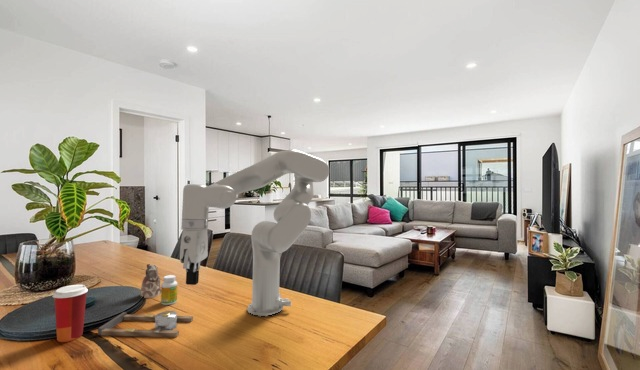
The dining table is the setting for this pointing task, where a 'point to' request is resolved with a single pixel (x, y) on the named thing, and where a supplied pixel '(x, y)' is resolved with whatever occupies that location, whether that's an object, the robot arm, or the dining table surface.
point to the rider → (166, 320)
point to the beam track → (136, 332)
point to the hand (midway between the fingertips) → (192, 283)
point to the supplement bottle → (169, 290)
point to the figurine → (151, 283)
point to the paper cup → (70, 312)
